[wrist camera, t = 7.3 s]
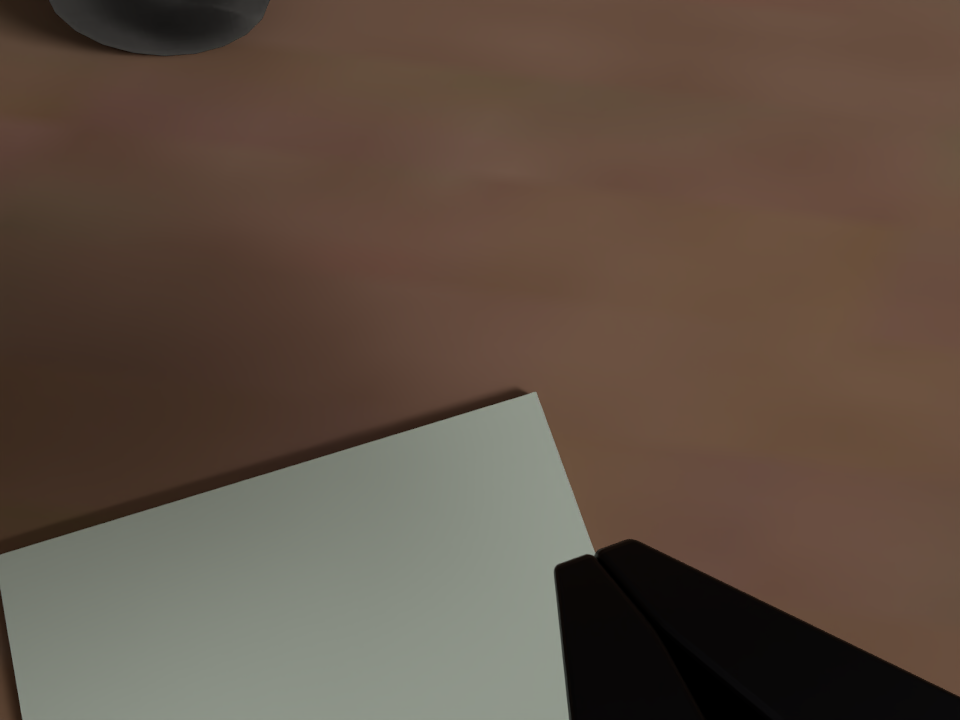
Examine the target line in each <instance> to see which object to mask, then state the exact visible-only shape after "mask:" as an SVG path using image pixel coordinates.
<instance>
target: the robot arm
mask: <svg viewBox="0 0 960 720" xmlns="http://www.w3.org/2000/svg"><path fill="white" fill-rule="evenodd" d="M554 582H555V591H556V601H557V610H558V620H559V630H560V639H561V649H562V658H563V668H564V677H565V687H566V696H567V706H568V716H569V720H960V697H959V696H957V695H955V694H953V693H951V692H949V691H947V690H945V689H943V688H941V687H939V686H937V685H934V684H932V683H930V682H928V681H926V680H924V679H922V678H920V677H918V676H916V675H914V674H912V673H910V672H908V671H906V670H904V669H901V668H899V667H897V666H895V665H893V664H891V663H889V662H887V661H885V660H883V659H881V658H879V657H877V656H875V655H873V654H870V653H868V652H866V651H864V650H862V649H860V648H858V647H856V646H854V645H852V644H850V643H848V642H846V641H844V640H842V639H840V638H837V637H835V636H833V635H831V634H829V633H827V632H825V631H823V630H821V629H819V628H817V627H815V626H813V625H811V624H809V623H807V622H804V621H802V620H800V619H798V618H796V617H794V616H792V615H790V614H788V613H786V612H784V611H782V610H780V609H778V608H776V607H773V606H771V605H769V604H767V603H765V602H763V601H761V600H759V599H757V598H755V597H753V596H751V595H749V594H747V593H745V592H743V591H740V590H738V589H736V588H734V587H732V586H730V585H728V584H726V583H724V582H722V581H720V580H718V579H716V578H714V577H712V576H710V575H707V574H705V573H703V572H701V571H699V570H697V569H695V568H693V567H691V566H689V565H687V564H685V563H683V562H681V561H679V560H676V559H674V558H672V557H670V556H668V555H666V554H664V553H662V552H660V551H658V550H656V549H654V548H652V547H650V546H648V545H646V544H643V543H641V542H639V541H637V540H633V539H627V540H624V541H621V542H618V543H615V544H612V545H610V546H607V547H604V548H601V549H599V550H597V552H596V553H595V555H594V556H593V555H590V554H585V555H582V556H579V557H576V558H573V559H571V560H568V561H565V562H562V563H559V564H557V565H556V566H555V568H554Z"/></svg>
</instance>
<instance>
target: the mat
mask: <svg viewBox="0 0 960 720" xmlns="http://www.w3.org/2000/svg"><path fill="white" fill-rule="evenodd" d="M585 554H590V555H593V556H594V555H595V552H594V549H593V546H592V544H591V541H590V538H589V535H588V533H587V530H586V527H585V524H584V522H583V519H582V516H581V514H580V511H579V508H578V505H577V503H576V500H575V497H574V494H573V492H572V489H571V486H570V483H569V481H568V478H567V475H566V472H565V470H564V467H563V464H562V462H561V459H560V456H559V453H558V451H557V448H556V445H555V442H554V440H553V437H552V434H551V431H550V429H549V426H548V423H547V421H546V418H545V415H544V412H543V410H542V407H541V404H540V401H539V399H538V396H537V393H536V392H534V393H530V394H527V395H524V396H520V397H517V398H514V399H510V400H507V401H504V402H501V403H497V404H494V405H491V406H487V407H484V408H481V409H478V410H474V411H471V412H468V413H464V414H461V415H458V416H455V417H451V418H448V419H445V420H441V421H438V422H435V423H432V424H428V425H425V426H422V427H418V428H415V429H412V430H409V431H405V432H402V433H399V434H395V435H392V436H389V437H385V438H382V439H379V440H376V441H372V442H369V443H366V444H362V445H359V446H356V447H353V448H349V449H346V450H343V451H339V452H336V453H333V454H330V455H326V456H323V457H320V458H316V459H313V460H310V461H307V462H303V463H300V464H297V465H293V466H290V467H287V468H284V469H280V470H277V471H274V472H270V473H267V474H264V475H260V476H257V477H254V478H251V479H247V480H244V481H241V482H237V483H234V484H231V485H228V486H224V487H221V488H218V489H214V490H211V491H208V492H205V493H201V494H198V495H195V496H191V497H188V498H185V499H182V500H178V501H175V502H172V503H168V504H165V505H162V506H159V507H155V508H152V509H149V510H145V511H142V512H139V513H136V514H132V515H129V516H126V517H122V518H119V519H116V520H112V521H109V522H106V523H103V524H99V525H96V526H93V527H89V528H86V529H83V530H80V531H76V532H73V533H70V534H66V535H63V536H60V537H57V538H53V539H50V540H47V541H43V542H40V543H37V544H34V545H30V546H27V547H24V548H20V549H17V550H14V551H11V552H7V553H4V554H1V555H0V590H1V596H2V602H3V608H4V613H5V619H6V625H7V631H8V637H9V643H10V649H11V655H12V661H13V667H14V673H15V679H16V685H17V690H18V696H19V702H20V708H21V714H22V720H569V716H568V706H567V696H566V687H565V677H564V668H563V658H562V649H561V639H560V630H559V620H558V610H557V601H556V591H555V582H554V568H555V566H556V565H557V564H559V563H562V562H565V561H568V560H571V559H573V558H576V557H579V556H582V555H585Z"/></svg>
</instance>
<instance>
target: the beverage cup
mask: <svg viewBox="0 0 960 720" xmlns="http://www.w3.org/2000/svg"><path fill="white" fill-rule="evenodd" d="M49 1H50V3H51V5H52V7H53V9H54V11H55V13H56V14H57V15H58V16H59V17H61V18H62V19H63V20H64V21H65V22H66V23H67V24H69V25H70V26H71V27H72V28H73V29H74V30H75V31H77V32H79V33H81V34H83V35H85V36H87V37H89V38H91V39H93V40H95V41H97V42H99V43H101V44H103V45H107V46H110V47H114V48H118V49H121V50H125V51H129V52H132V53H141V54H152V55H162V56H169V55H182V54H196V53H200V52H204V51H207V50H211V49H215V48H219V47H223V46H225V45H227V44H229V43H231V42H233V41H235V40H237V39H239V38H240V37H242V36H244V35H246V34H247V33H248V32H249V31H250V30H251V29H252V28H253V27H254V26H255V25H256V24H257V23H258V22H259V21H260V20H261V19H262V18H263V16H264V13H265V11H266V8H267V6H268V3H269V1H270V0H49Z"/></svg>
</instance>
